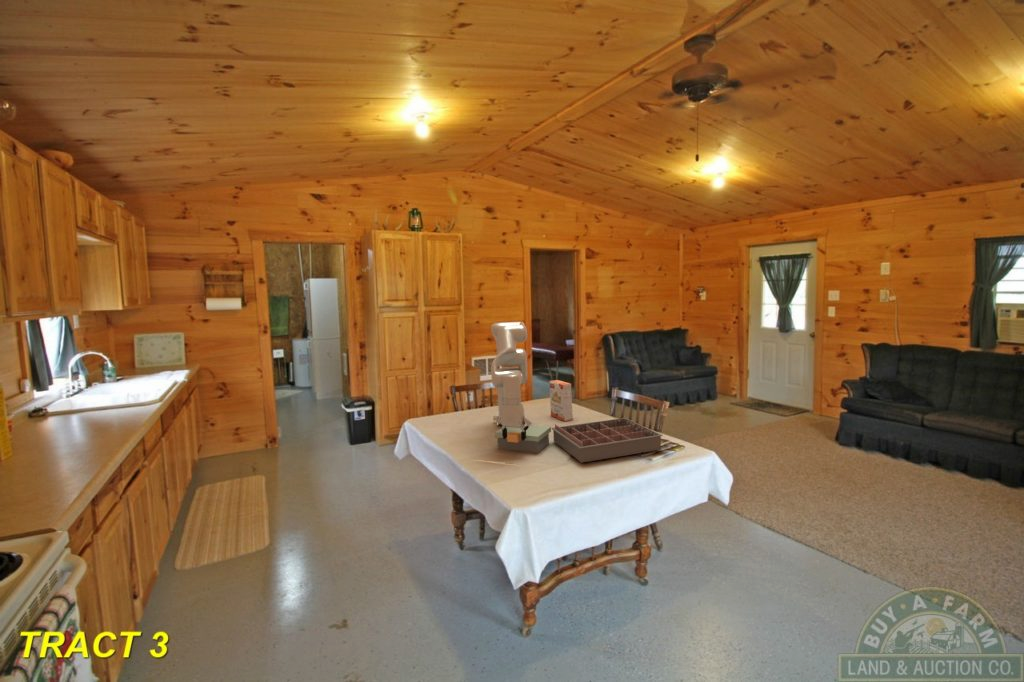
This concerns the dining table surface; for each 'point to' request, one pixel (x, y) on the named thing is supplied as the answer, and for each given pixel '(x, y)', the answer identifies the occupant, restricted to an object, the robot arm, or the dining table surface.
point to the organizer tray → (606, 439)
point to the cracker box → (561, 400)
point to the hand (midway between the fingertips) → (514, 438)
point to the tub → (524, 445)
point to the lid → (531, 433)
